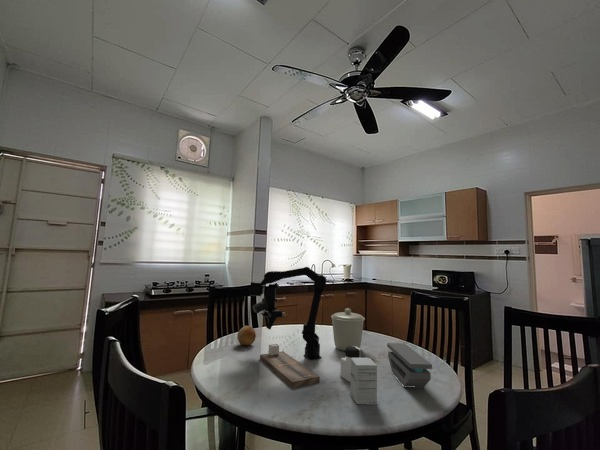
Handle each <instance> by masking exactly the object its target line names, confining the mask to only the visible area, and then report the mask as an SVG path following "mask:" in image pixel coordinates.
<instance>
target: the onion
mask: <svg viewBox="0 0 600 450" xmlns="http://www.w3.org/2000/svg"><path fill="white" fill-rule="evenodd" d="M236 336H237V338H236V339H237V341H238V343H239V344H240V345H242V346H246V347H248V346H251V345H252V344H254V342H255V341H256V338H257V337H256V336H257V334H256V331H255V329H254V328H253V327H252V326H250V325H244V326H243V327H241V328H240V329H239V331H238V333H237V335H236Z"/></svg>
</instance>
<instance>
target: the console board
mask: <svg viewBox="0 0 600 450" xmlns="http://www.w3.org/2000/svg"><path fill="white" fill-rule="evenodd" d="M259 360H260V361H261V362H262V363H263V364H264V365H266V366H267V367H268V368H269V369H270V370H271V371H272V372H274V373H275V374H276V375H277V376H278V377H280V378H281V380H282V381H284V382H285V383H286V384H287V385H289V386H290V387H291V388H292V389H293V388H298V387H299V388H300V387H304V386H307V385H308V386H309V385H312V384H315V383H319V382H321V381H320V380H321V377H320V375H319V374H317V373H316V372H314V371H313V370H312V369H310V368H308V367H307V366H305V365H304V364H302V362H300V361H298V360H296V359H295V358H294V357H292V356H291V355H290V354H288V353H286V352H285V351H284V350H283V351H279V354H277V355H270V354H268V353H262V354H259Z"/></svg>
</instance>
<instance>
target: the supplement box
mask: <svg viewBox="0 0 600 450" xmlns="http://www.w3.org/2000/svg"><path fill="white" fill-rule="evenodd" d="M350 395H351V397H352V399H353V400H354V402H355V404H356V405H357V404H366V405H377V404H378V365H377V364H376V363H375V362H374V361H373V360H372V359H371V358H370V357H360V358H351V383H350Z"/></svg>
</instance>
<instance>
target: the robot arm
mask: <svg viewBox="0 0 600 450" xmlns="http://www.w3.org/2000/svg"><path fill="white" fill-rule="evenodd" d="M301 276H306V277H307V278H309V280H311V281H313V283H314V284H313V297H312V301H311V307H310V309H309V315H308V320H307V322H304V323H303V326H302V327H303V329H302V331H301V334H302V339H303V340H304V341H305V347H304V354H303V357H305V358H306V359H308V360H309V361H310V360H311V361H312V360H318V359H322V356H320V354H321V353H320V352H321V349H320V348H321V344H320V337H319V336H318V334H317V333H316V323H317V316H318V311H319V306H320V301H321V297H322V294H323V292H324V289H325V286H326V285H327V278H326V276H325V275H324V274H319V273H317V272H316V271H314V270H312V269H311V268H310V267H309V266H304V267H300V268H295V269H294V268H293V269H290V270H282V271H280V270H279V271H277V270H275V271H273V270H271V271H267V272H265V274H264V275H263V279H262V281H260V282H255V281H252V282H250V284H249V285H250V286H249V289H248V295H249V296H251V297H261V296H262V295H263V297H262V298H261V301H260V302H257V303H255V304H253V305H252V306H251V307H252V310H253V313H255V314H260V315H261V316H262V317H263V318H264V323H265V326H266V329H268V330H271V329H272V327H273V325H274V324H275V322H276V320H277V318H283V317H284V315H283V311H282V310H279V309H277V307H276V302H278V299H277V298H276V296H277V292H276V291H277V289H279V288H280V287H281V286H280V285H279V284H278V281H281V280H285V279H289V278H294V277H301ZM260 312H261V313H260Z"/></svg>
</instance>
